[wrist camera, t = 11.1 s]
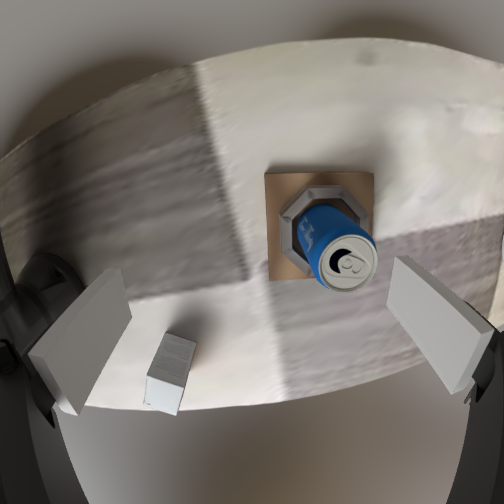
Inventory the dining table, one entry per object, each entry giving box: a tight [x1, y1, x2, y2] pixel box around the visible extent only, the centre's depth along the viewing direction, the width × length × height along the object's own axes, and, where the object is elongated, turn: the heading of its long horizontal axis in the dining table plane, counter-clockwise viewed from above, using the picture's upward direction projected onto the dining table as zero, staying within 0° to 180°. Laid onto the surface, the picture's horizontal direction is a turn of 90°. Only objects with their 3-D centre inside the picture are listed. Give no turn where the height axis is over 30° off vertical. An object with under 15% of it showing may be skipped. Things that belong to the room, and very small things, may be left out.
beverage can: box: [296, 204, 378, 293], centre depth 29 cm, size 6×6×12 cm
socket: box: [264, 172, 374, 281], centre depth 34 cm, size 14×14×4 cm
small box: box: [143, 333, 197, 415], centre depth 39 cm, size 8×6×10 cm
